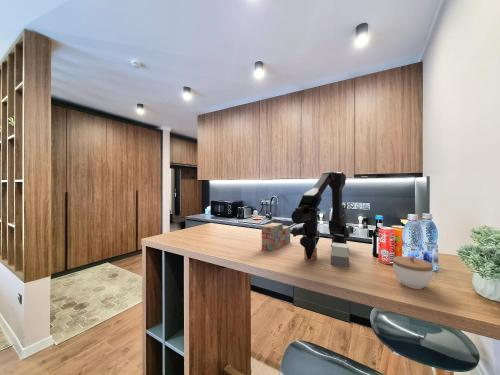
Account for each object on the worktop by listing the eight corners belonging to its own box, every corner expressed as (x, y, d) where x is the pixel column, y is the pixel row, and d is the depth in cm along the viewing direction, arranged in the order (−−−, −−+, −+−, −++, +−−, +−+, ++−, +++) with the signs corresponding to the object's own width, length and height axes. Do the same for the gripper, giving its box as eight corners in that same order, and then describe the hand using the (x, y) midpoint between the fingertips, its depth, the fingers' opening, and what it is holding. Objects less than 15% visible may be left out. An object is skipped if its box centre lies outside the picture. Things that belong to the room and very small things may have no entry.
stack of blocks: (280, 240, 127) (280, 220, 126) (290, 242, 123) (290, 221, 123) (261, 249, 109) (261, 225, 109) (271, 251, 106) (271, 227, 105)
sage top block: (332, 251, 94) (332, 242, 93) (347, 253, 91) (347, 244, 91) (331, 255, 88) (331, 246, 88) (347, 257, 86) (347, 247, 86)
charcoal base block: (331, 259, 95) (331, 250, 94) (349, 262, 92) (349, 252, 92) (330, 264, 88) (330, 255, 88) (349, 267, 85) (349, 257, 85)
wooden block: (313, 256, 98) (313, 245, 98) (319, 260, 93) (319, 249, 93) (302, 257, 97) (302, 246, 97) (307, 261, 92) (307, 250, 92)
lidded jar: (407, 292, 65) (408, 262, 65) (385, 277, 76) (385, 251, 76) (442, 292, 65) (442, 262, 65) (415, 277, 76) (415, 251, 76)
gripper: (297, 217, 107) (297, 248, 107) (287, 223, 90) (287, 260, 90) (320, 218, 102) (320, 250, 102) (315, 225, 85) (314, 264, 85)
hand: (310, 255), depth 95 cm, fingers open, 9 cm apart
